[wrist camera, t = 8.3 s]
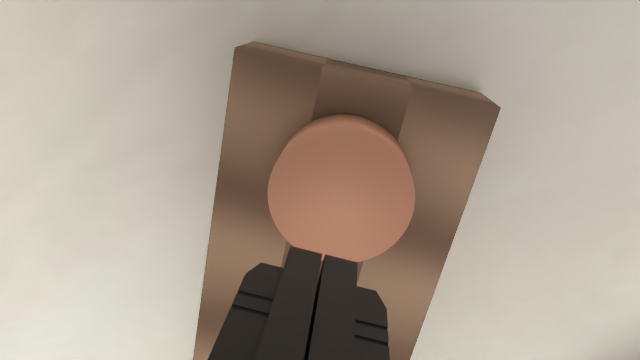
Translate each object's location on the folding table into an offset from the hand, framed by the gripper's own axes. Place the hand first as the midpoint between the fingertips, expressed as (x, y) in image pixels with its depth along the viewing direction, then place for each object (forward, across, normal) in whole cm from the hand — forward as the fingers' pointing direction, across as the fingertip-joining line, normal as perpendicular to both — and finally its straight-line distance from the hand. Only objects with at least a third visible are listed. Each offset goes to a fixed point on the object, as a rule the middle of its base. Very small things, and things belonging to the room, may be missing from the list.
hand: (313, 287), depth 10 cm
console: (+11, 0, +9) cm, 14 cm away
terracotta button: (+11, 0, +1) cm, 11 cm away
